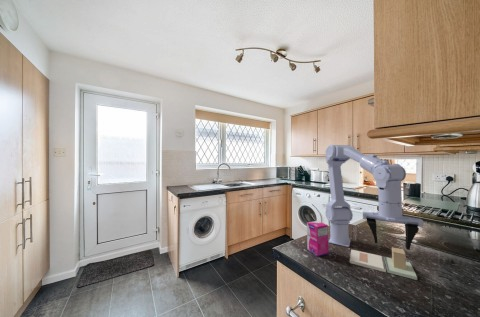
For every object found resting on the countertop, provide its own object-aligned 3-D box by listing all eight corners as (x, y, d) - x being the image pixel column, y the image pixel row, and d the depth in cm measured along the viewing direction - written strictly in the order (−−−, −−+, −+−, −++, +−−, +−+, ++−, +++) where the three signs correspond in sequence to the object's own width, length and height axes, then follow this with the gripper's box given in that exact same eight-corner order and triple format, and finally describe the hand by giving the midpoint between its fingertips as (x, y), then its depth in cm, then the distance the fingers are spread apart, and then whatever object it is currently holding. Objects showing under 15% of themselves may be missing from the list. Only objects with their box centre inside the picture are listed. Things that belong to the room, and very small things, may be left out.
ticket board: (351, 251, 72) (351, 249, 72) (383, 259, 66) (383, 256, 66) (349, 263, 64) (349, 259, 64) (386, 272, 58) (385, 268, 58)
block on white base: (384, 259, 66) (383, 242, 66) (410, 265, 62) (409, 247, 62) (387, 272, 58) (386, 253, 58) (417, 280, 54) (416, 260, 54)
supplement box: (306, 250, 73) (306, 222, 74) (318, 248, 75) (317, 220, 76) (317, 257, 68) (316, 226, 68) (329, 254, 70) (328, 224, 70)
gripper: (362, 201, 58) (363, 244, 58) (425, 207, 50) (427, 257, 49) (362, 198, 64) (363, 236, 63) (419, 203, 56) (420, 247, 55)
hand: (391, 245), depth 57 cm, fingers open, 7 cm apart
